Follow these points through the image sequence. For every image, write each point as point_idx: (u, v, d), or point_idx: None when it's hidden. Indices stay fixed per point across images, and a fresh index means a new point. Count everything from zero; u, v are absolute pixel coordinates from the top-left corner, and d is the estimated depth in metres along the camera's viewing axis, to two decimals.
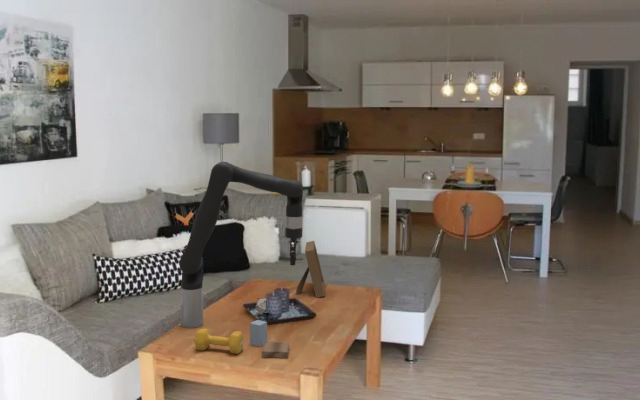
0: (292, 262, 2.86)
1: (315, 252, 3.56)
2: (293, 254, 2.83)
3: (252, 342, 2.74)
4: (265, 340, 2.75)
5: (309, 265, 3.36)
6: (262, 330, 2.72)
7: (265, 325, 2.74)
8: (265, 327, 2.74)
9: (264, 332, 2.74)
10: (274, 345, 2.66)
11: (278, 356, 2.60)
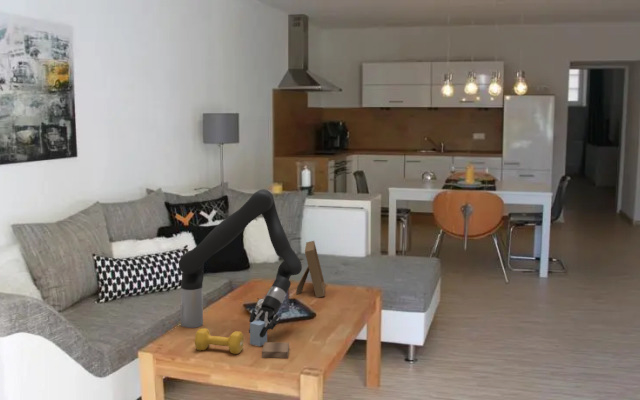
0: None
1: (315, 252, 3.56)
2: (272, 326, 2.73)
3: (252, 342, 2.74)
4: (265, 340, 2.75)
5: (309, 265, 3.36)
6: None
7: None
8: None
9: None
10: (274, 345, 2.66)
11: (278, 356, 2.60)
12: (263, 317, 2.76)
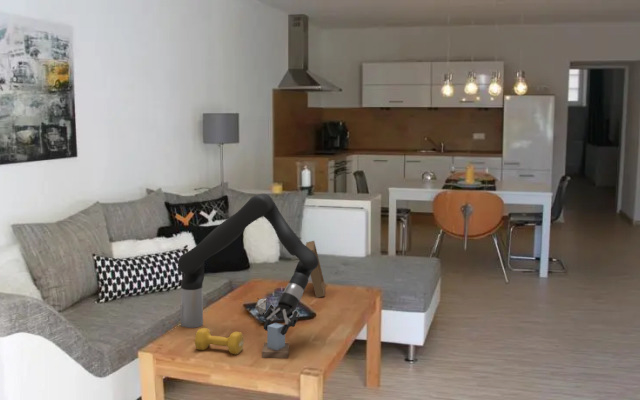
0: None
1: (315, 252, 3.56)
2: (293, 324, 2.61)
3: (269, 346, 2.63)
4: (283, 344, 2.64)
5: None
6: (280, 333, 2.62)
7: None
8: None
9: (282, 336, 2.63)
10: None
11: (278, 356, 2.60)
12: (281, 316, 2.65)
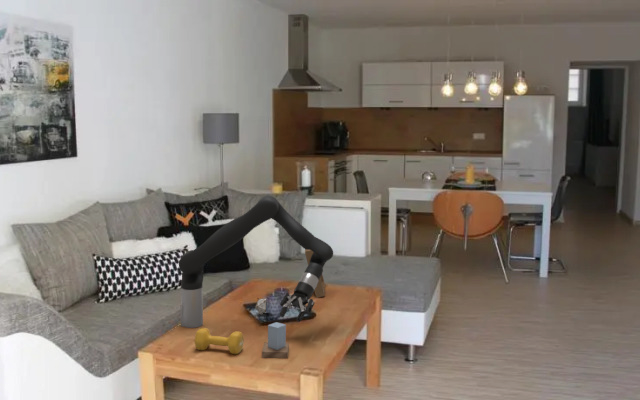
0: None
1: None
2: (309, 311, 2.73)
3: (270, 345, 2.64)
4: (283, 343, 2.64)
5: None
6: (280, 333, 2.62)
7: (284, 328, 2.63)
8: (284, 330, 2.64)
9: (283, 335, 2.64)
10: None
11: (278, 356, 2.60)
12: (297, 303, 2.76)
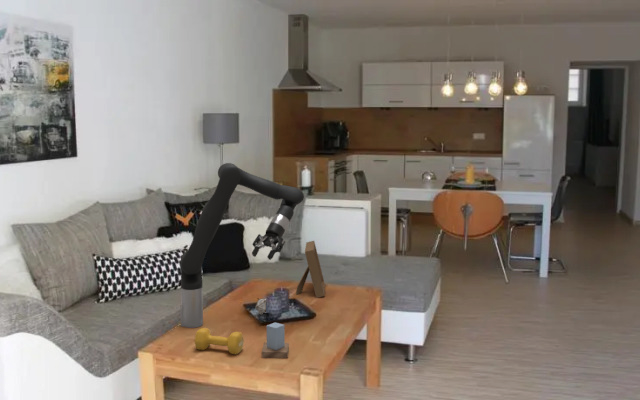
0: None
1: (315, 252, 3.56)
2: (279, 249, 2.85)
3: (269, 345, 2.63)
4: (282, 343, 2.64)
5: (309, 265, 3.36)
6: (279, 333, 2.62)
7: (282, 328, 2.63)
8: (282, 330, 2.63)
9: (282, 335, 2.63)
10: None
11: (278, 356, 2.60)
12: (268, 243, 2.88)
